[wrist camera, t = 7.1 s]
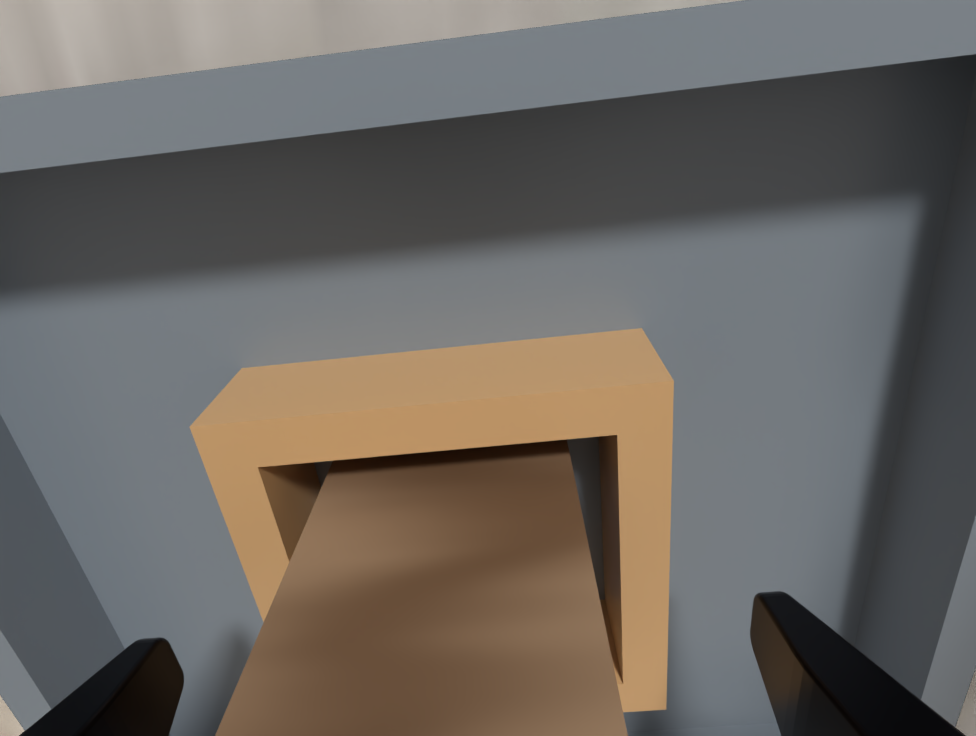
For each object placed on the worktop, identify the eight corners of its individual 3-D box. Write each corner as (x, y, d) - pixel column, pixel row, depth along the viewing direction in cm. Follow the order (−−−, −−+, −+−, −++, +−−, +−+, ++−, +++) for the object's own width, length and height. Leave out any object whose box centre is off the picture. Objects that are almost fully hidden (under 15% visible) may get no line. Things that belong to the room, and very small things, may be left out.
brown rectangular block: (561, 412, 11) (655, 869, 5) (571, 577, 13) (651, 1076, 6) (345, 431, 11) (146, 894, 5) (384, 591, 13) (277, 1088, 6)
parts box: (1001, -18, 9) (1227, -63, 6) (846, 699, 16) (920, 829, 13) (-138, 129, 10) (-379, 145, 7) (182, 742, 17) (121, 871, 14)
